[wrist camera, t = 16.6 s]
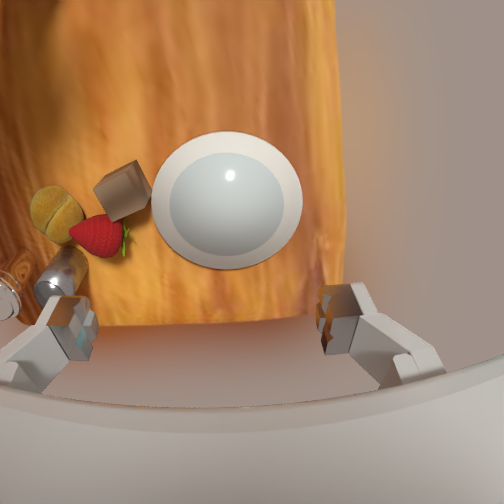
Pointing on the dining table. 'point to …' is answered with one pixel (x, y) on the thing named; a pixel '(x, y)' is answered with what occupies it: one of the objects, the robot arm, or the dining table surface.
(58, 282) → the drinking glass
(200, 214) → the plate
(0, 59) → the dining table surface
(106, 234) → the strawberry
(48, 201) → the bread roll
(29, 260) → the cup with straw
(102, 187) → the walnut block
